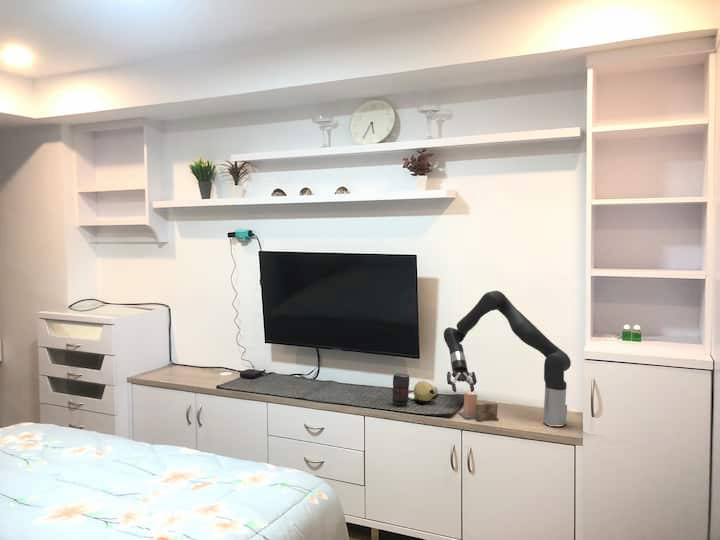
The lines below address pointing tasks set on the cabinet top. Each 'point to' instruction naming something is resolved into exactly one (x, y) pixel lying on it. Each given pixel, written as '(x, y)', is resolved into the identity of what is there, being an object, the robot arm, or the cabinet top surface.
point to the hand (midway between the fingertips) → (463, 391)
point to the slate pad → (466, 416)
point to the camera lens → (400, 389)
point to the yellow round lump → (424, 391)
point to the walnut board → (486, 412)
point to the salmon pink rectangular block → (470, 403)
